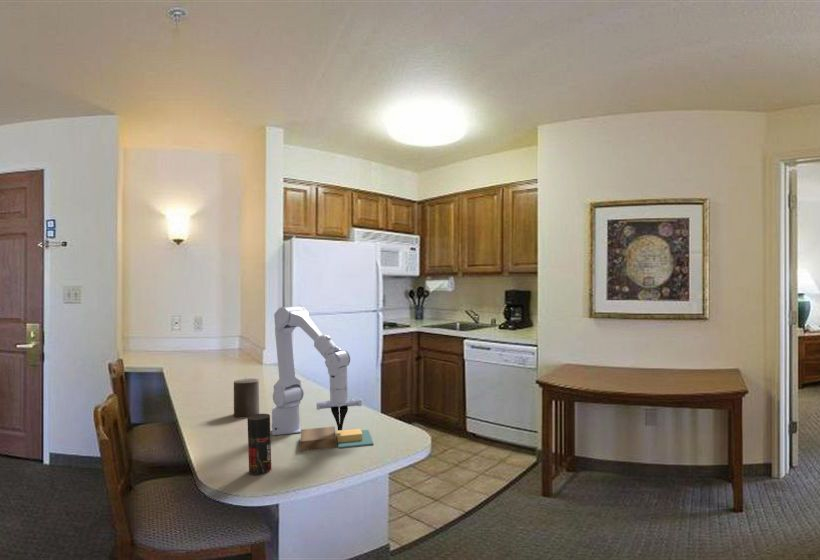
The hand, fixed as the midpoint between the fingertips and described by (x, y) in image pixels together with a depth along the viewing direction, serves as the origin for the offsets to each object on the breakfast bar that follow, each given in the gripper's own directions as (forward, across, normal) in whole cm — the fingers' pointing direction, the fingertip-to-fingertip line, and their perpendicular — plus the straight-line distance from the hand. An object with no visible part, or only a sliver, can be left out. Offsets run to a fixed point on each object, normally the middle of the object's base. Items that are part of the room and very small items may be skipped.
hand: (339, 429), depth 149 cm
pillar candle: (+4, -35, +43) cm, 56 cm away
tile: (+3, +3, 0) cm, 4 cm away
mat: (+4, +4, 0) cm, 6 cm away
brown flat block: (+4, -7, 0) cm, 8 cm away
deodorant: (+4, -23, -18) cm, 29 cm away
